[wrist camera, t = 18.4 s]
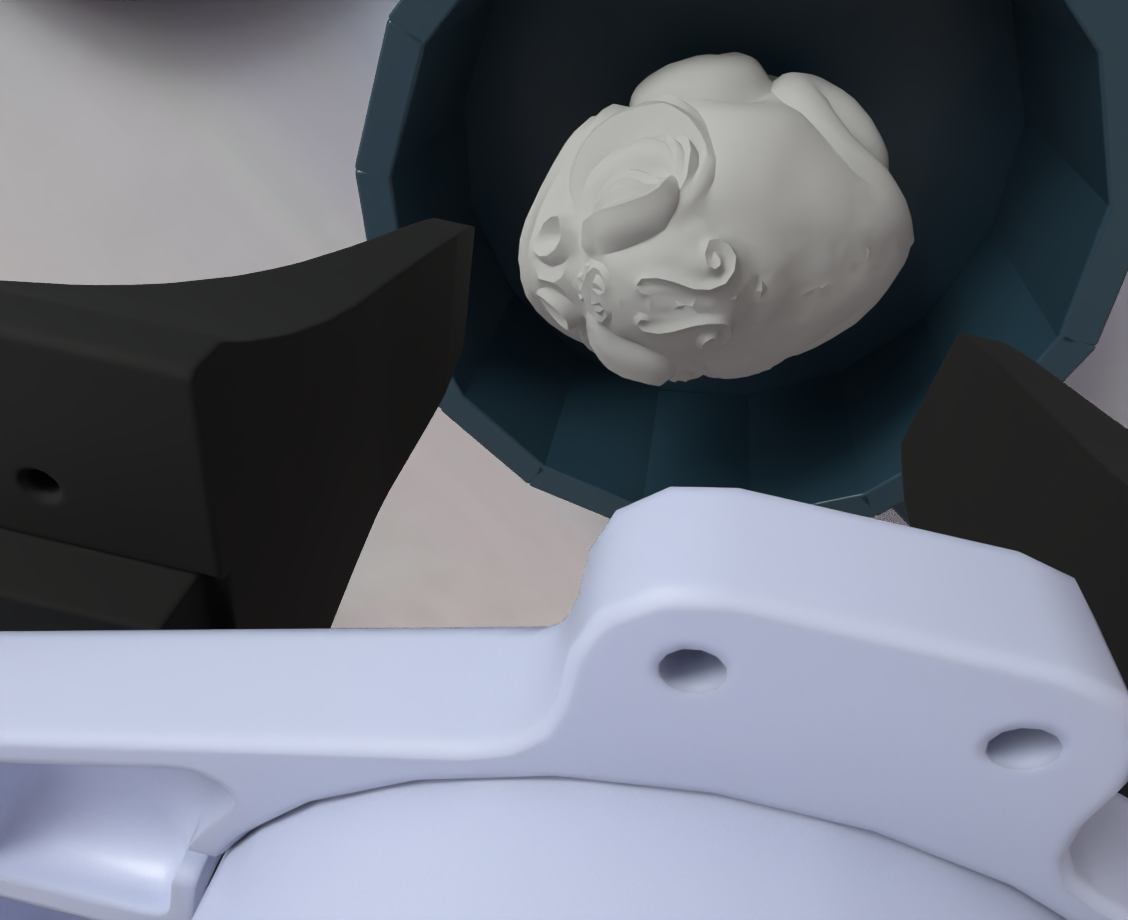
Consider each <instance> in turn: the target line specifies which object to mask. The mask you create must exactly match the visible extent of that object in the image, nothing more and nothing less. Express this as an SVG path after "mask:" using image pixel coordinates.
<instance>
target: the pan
mask: <svg viewBox="0 0 1128 920" xmlns="http://www.w3.org/2000/svg"><path fill="white" fill-rule="evenodd" d="M389 18H390V19H389V20H388V21H387V25H386V30H385V34H384V39H383V43H382V48H381V52H380V57H379V61H378V65H377V70H376V74H375V79H374V83H373V88H372V92H371V97H370V101H369V106H368V110H367V115H366V119H365V124H364V128H363V133H362V137H361V142H360V146H359V151H358V155H357V160H356V164H355V165H356V179H357V185H358V191H359V197H360V203H361V208H362V214H363V220H364V226H365V232H366V238H367V241H368V240H371V239H373V238H376V237H379V236H382V235H384V234H387V233H390V232H392V231H395V230H398V229H400V228H403V227H406V226H408V225H411V224H414V223H417V222H420V221H423V220H427V219H433V218H437V219H441V220H446V221H451V222H455V223H460V224H464V225H469V226H473V227H475V231H474V241H473V252H472V263H471V274H470V284H469V295H468V306H467V317H466V327H465V338H464V347H463V350H462V352H461V355H460V358H459V360H458V363H457V366H456V368H455V371H454V374H453V376H452V379H451V381H450V383H449V386H448V388H447V391H446V393H445V395H444V397H443V399H442V401H441V403H440V404H439V406H438V407H440V408H441V410H442V411H443V412H444V413H445V414H446V415H447V416H448V417H450V418H451V419H452V420H453V421H454V422H456V423H457V424H458V425H459V426H460V427H461V428H463V429H464V430H465V431H466V432H467V433H469V434H470V435H471V436H472V437H473V438H474V439H476V440H477V441H478V442H479V443H480V444H482V445H483V446H484V447H485V448H486V449H487V450H489V451H490V452H491V453H492V454H493V455H494V456H496V457H497V458H498V459H499V460H500V461H502V462H503V463H504V464H505V465H506V466H507V467H509V468H510V469H511V470H512V471H513V472H515V473H516V474H517V475H518V476H519V477H520V478H522V479H523V480H524V481H525V482H526V483H530V485H531V486H532V487H535V488H537V489H540V490H542V491H545V492H547V493H549V494H552V495H554V496H557V497H559V498H562V499H564V500H566V501H569V502H571V503H574V504H576V505H579V506H581V507H583V508H586V509H588V510H591V511H593V512H596V513H598V514H600V515H603V516H605V517H608V518H610V519H611V517H612V516H613V514H614V513H615V511H616V510H618V509H621V508H623V507H625V506H627V505H630V504H632V503H634V502H637V501H639V500H641V499H643V498H646V497H648V496H650V495H653V494H655V493H657V492H659V491H662V490H664V489H666V488H669V487H717V488H741V489H745V490H749V491H754V492H758V493H763V494H767V495H771V496H776V497H780V498H785V499H789V500H794V501H798V502H802V503H807V504H811V505H816V506H820V507H824V508H829V509H833V510H838V511H842V512H846V513H851V514H855V515H860V516H864V517H869V518H871V517H874V516H875V515H879V514H881V513H883V512H885V511H887V510H889V509H891V508H893V509H894V510H895V511H896V512H897V514H898V515H899V516H900V517H901V518H902V519H903V520H904V521H905V522H906V523H907V524H908V525H909V526H910V522H909V518H908V513H907V509H906V504H905V500H904V491H903V480H902V461H901V442H902V441H903V439H904V437H905V435H906V433H907V431H908V429H909V427H910V425H911V423H912V421H913V419H914V417H915V415H916V413H917V411H918V410H919V408H920V406H921V404H922V402H923V400H924V398H925V396H926V394H927V392H928V390H929V388H930V386H931V384H932V382H933V380H934V379H935V377H936V375H937V373H938V371H939V369H940V367H941V365H942V363H943V361H944V359H945V357H946V355H947V353H948V351H949V349H950V348H951V346H952V344H953V342H954V340H955V338H956V336H957V334H958V332H959V333H964V334H968V335H973V336H978V337H982V338H987V339H991V340H996V341H1000V342H1003V343H1005V344H1007V345H1009V346H1011V347H1013V348H1014V349H1016V350H1018V351H1019V352H1021V353H1023V354H1024V355H1026V356H1027V357H1029V358H1030V359H1032V360H1033V361H1035V362H1036V363H1037V364H1039V365H1040V366H1042V367H1043V368H1045V369H1046V370H1047V371H1049V372H1050V373H1051V374H1053V375H1054V376H1055V377H1057V378H1058V379H1059V380H1061V381H1062V382H1064V380H1065V379H1066V378H1067V377H1068V376H1069V375H1070V374H1071V373H1072V372H1073V371H1074V370H1075V369H1076V368H1077V367H1078V366H1079V365H1080V364H1081V363H1082V362H1083V361H1084V360H1085V358H1086V357H1087V356H1088V355H1089V354H1090V353H1091V352H1092V351H1093V350H1094V349H1095V345H1096V344H1097V343H1098V341H1099V338H1100V336H1101V334H1102V331H1103V329H1104V326H1105V324H1106V322H1107V319H1108V317H1109V314H1110V312H1111V310H1112V307H1113V305H1114V302H1115V300H1116V298H1117V295H1118V293H1119V291H1120V288H1121V286H1122V283H1123V281H1124V279H1125V276H1126V274H1127V271H1128V0H400V1H399V3H398V4H397V5H396V7H395V8H394V9H393V11H392V12H391V14H390V15H389ZM730 52H739V53H742V54H745V55H748V56H751V57H753V58H754V59H756V60H757V61H758V62H759V63H760V65H761V66H762V67H763V69H764V70H765V72H766V73H767V74H768V75H772V76H776V77H780V76H781V75H782V74H786V73H790V72H798V73H806V74H812V75H815V76H818V77H820V78H823V79H824V80H826V81H828V82H830V83H832V84H833V85H835V86H837V87H839V88H841V89H842V90H844V91H845V92H846V93H847V94H849V95H850V96H851V97H853V98H854V99H855V100H856V101H857V102H858V103H859V104H860V106H861V107H862V108H863V109H864V110H865V112H866V113H867V114H868V115H869V116H870V118H871V119H872V121H873V123H874V124H875V126H876V128H877V130H878V131H879V133H880V135H881V137H882V139H883V141H884V144H885V146H886V149H887V151H888V157H889V172H890V174H891V175H892V177H893V178H894V180H895V181H896V183H897V185H898V187H899V188H900V190H901V192H902V194H903V196H904V198H905V199H906V201H907V205H908V208H909V211H910V215H911V218H912V225H913V234H914V243H913V244H912V246H911V247H910V250H909V254H908V257H907V259H906V262H905V264H904V265H903V267H902V268H901V270H900V272H899V273H898V275H897V276H896V278H895V279H894V281H893V282H892V284H891V285H890V287H889V288H888V290H887V291H886V292H885V294H884V295H883V296H882V297H881V299H880V300H879V301H878V302H877V304H876V305H875V306H874V307H873V308H871V309H870V310H869V311H868V312H867V313H866V314H865V315H864V316H863V317H862V318H861V319H860V320H859V321H858V322H857V323H856V324H854V325H853V326H851V327H849V328H848V329H846V330H845V331H843V332H841V333H840V334H838V335H837V336H835V337H833V338H832V339H830V340H828V341H826V342H824V343H823V344H821V345H819V346H817V347H815V348H813V349H811V350H808V351H806V352H804V353H801V354H799V355H795V356H791V357H788V358H786V359H784V360H783V361H782V362H780V363H778V364H777V365H775V366H773V367H772V368H771V369H770V370H766V371H762V372H760V373H758V374H753V375H750V376H748V377H740V378H730V379H722V378H712V377H708V376H706V375H702V376H700V377H699V378H695V379H691V380H687V381H686V382H684V381H676V382H672V381H670V380H668V381H666V382H665V383H664V384H662V385H660V386H656V385H649V384H645V383H642V382H638V381H634V380H631V379H627V378H623V377H621V376H619V375H618V374H616V373H614V372H612V371H611V370H609V369H607V367H606V366H605V365H604V364H603V363H602V362H601V361H600V360H599V358H598V357H597V355H596V353H594V352H592V351H591V350H589V349H588V348H587V347H586V345H585V344H584V343H581V342H579V341H577V340H575V339H573V338H571V337H569V336H567V335H565V334H564V333H563V332H561V331H560V330H558V329H557V328H555V327H554V326H552V325H551V324H550V323H549V322H547V321H546V320H545V319H544V318H543V317H542V316H541V315H540V314H539V313H538V312H537V311H536V310H535V308H534V307H533V305H532V304H531V303H530V301H529V300H528V298H527V297H526V295H525V292H524V288H523V285H522V282H521V279H520V267H519V261H518V256H519V243H520V237H521V234H522V230H523V227H524V223H525V220H526V218H527V216H528V213H529V211H530V209H531V207H532V205H533V203H534V200H535V198H536V196H537V194H538V192H539V190H540V188H541V186H542V184H543V182H544V180H545V178H546V176H547V174H548V172H549V170H550V168H551V167H552V165H553V163H554V161H555V160H556V158H557V156H558V155H559V153H560V151H561V150H562V148H563V146H564V145H565V143H566V142H567V140H568V139H569V138H570V136H571V135H572V134H573V133H574V131H575V130H577V129H578V128H579V127H580V126H581V125H582V124H583V123H584V122H585V121H587V120H588V119H589V118H590V117H591V116H597V115H598V114H599V113H600V111H601V110H603V109H604V108H606V107H608V106H610V105H612V104H617V105H622V106H627V107H630V106H629V103H630V100H631V96H632V94H633V92H634V91H635V89H636V87H637V86H638V85H639V84H640V83H641V82H642V81H643V80H644V79H645V78H646V77H648V76H649V75H651V74H652V73H654V72H656V71H657V70H659V69H661V68H663V67H664V66H666V65H668V64H671V63H674V62H677V61H681V60H684V59H687V58H690V57H694V56H698V55H707V54H712V55H720V54H724V53H730ZM910 527H911V526H910Z"/></svg>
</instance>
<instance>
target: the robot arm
mask: <svg viewBox="0 0 1128 920" xmlns="http://www.w3.org/2000/svg"><path fill="white" fill-rule="evenodd" d="M474 231H475V227H473V226H469V225H464V224H460V223H455V222H451V221H446V220H441V219H437V218H433V219H427V220H423V221H420V222H417V223H414V224H411V225H408V226H406V227H403V228H400V229H398V230H395V231H392V232H390V233H387V234H384V235H382V236H379V237H376V238H373V239H371V240H368V241H365V242H363V243H360V244H357V245H354V246H352V247H348V248H345V249H342V250H339V251H336V252H333V253H329V254H326V255H323V256H320V257H317V258H313V259H310V260H307V261H304V262H300V263H296V264H292V265H288V266H284V267H280V268H276V269H271V270H265V271H260V272H255V273H250V274H245V275H239V276H232V277H224V278H214V279H205V280H196V281H187V282H178V283H165V284H143V285H68V284H51V283H33V282H16V281H0V920H1128V429H1126V428H1125V427H1123V426H1122V425H1121V424H1119V423H1118V422H1116V421H1115V420H1114V419H1112V418H1111V417H1109V416H1108V415H1107V414H1105V413H1104V412H1103V411H1101V410H1100V409H1098V408H1097V407H1096V406H1094V405H1093V404H1092V403H1090V402H1089V401H1088V400H1086V399H1085V398H1084V397H1082V396H1081V395H1080V394H1078V393H1077V392H1076V391H1074V390H1073V389H1072V388H1070V387H1069V386H1068V385H1066V384H1065V383H1063V382H1062V381H1061V380H1059V379H1058V378H1057V377H1055V376H1054V375H1053V374H1051V373H1050V372H1049V371H1047V370H1046V369H1045V368H1043V367H1042V366H1040V365H1039V364H1037V363H1036V362H1035V361H1033V360H1032V359H1030V358H1029V357H1027V356H1026V355H1024V354H1023V353H1021V352H1019V351H1018V350H1016V349H1014V348H1013V347H1011V346H1009V345H1007V344H1005V343H1003V342H1000V341H996V340H991V339H987V338H982V337H978V336H973V335H968V334H964V333H959V332H958V334H957V336H956V338H955V340H954V342H953V344H952V346H951V348H950V349H949V351H948V353H947V355H946V357H945V359H944V361H943V363H942V365H941V367H940V369H939V371H938V373H937V375H936V377H935V379H934V380H933V382H932V384H931V386H930V388H929V390H928V392H927V394H926V396H925V398H924V400H923V402H922V404H921V406H920V408H919V410H918V411H917V413H916V415H915V417H914V419H913V421H912V423H911V425H910V427H909V429H908V431H907V433H906V435H905V437H904V439H903V441H902V442H901V461H902V480H903V491H904V500H905V504H906V509H907V513H908V518H909V522H910V526H911V527H908V526H904V525H899V524H895V523H891V522H886V521H882V520H877V519H873V518H869V517H864V516H860V515H855V514H851V513H846V512H842V511H838V510H833V509H829V508H824V507H820V506H816V505H811V504H807V503H802V502H798V501H794V500H789V499H785V498H780V497H776V496H771V495H767V494H763V493H758V492H754V491H749V490H745V489H741V488H717V487H669V488H666V489H664V490H662V491H659V492H657V493H655V494H653V495H650V496H648V497H646V498H643V499H641V500H639V501H637V502H634V503H632V504H630V505H627V506H625V507H623V508H621V509H618V510H616V511H615V513H614V514H613V516H612V517H611V519H610V520H609V522H608V523H607V525H606V526H605V528H604V529H603V531H602V532H601V534H600V535H599V537H598V538H597V540H596V541H595V542H594V544H593V545H592V547H591V548H590V550H589V554H588V558H587V562H586V566H585V570H584V574H583V578H582V582H581V586H580V590H579V595H578V597H577V599H576V601H575V604H574V606H573V608H572V610H571V612H570V614H569V615H568V616H567V617H566V618H565V619H564V620H563V621H562V622H561V623H558V624H555V625H553V626H550V627H444V628H331V625H332V623H333V620H334V617H335V615H336V612H337V610H338V607H339V605H340V602H341V600H342V597H343V595H344V592H345V590H346V588H347V585H348V583H349V580H350V578H351V575H352V573H353V570H354V568H355V565H356V563H357V560H358V558H359V556H360V553H361V551H362V549H363V546H364V544H365V542H366V539H367V537H368V535H369V532H370V530H371V528H372V525H373V523H374V520H375V518H376V516H377V514H378V512H379V510H380V508H381V506H382V504H383V502H384V500H385V498H386V496H387V494H388V492H389V490H390V489H391V487H392V485H393V483H394V482H395V480H396V478H397V477H398V475H399V473H400V472H401V470H402V468H403V466H404V465H405V463H406V461H407V460H408V458H409V456H410V454H411V453H412V451H413V449H414V448H415V446H416V444H417V442H418V441H419V439H420V437H421V436H422V434H423V432H424V431H425V429H426V427H427V425H428V424H429V422H430V420H431V418H432V417H433V415H434V413H435V411H436V410H437V408H438V406H439V404H440V403H441V401H442V399H443V397H444V395H445V393H446V391H447V388H448V386H449V383H450V381H451V379H452V376H453V374H454V371H455V368H456V366H457V363H458V360H459V358H460V355H461V352H462V350H463V347H464V338H465V327H466V317H467V306H468V295H469V284H470V274H471V263H472V252H473V241H474Z"/></svg>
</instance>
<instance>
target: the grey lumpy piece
mask: <svg viewBox="0 0 1128 920" xmlns="http://www.w3.org/2000/svg"><path fill="white" fill-rule="evenodd" d="M629 106H630V107H627V106H622V105H617V104H612V105H610V106H608V107H606V108H604V109H603V110H601V111H600V113H599V114H598V115H597V116H591V117H590V118H589V119H588V120H587V121H585V122H584V123H583V124H582V125H581V126H580V127H579V128H578V129H577V130H575V131H574V133H573V134H572V135H571V136H570V138H569V139H568V140H567V142H566V143H565V145H564V146H563V148H562V150H561V151H560V153H559V155H558V156H557V158H556V160H555V161H554V163H553V165H552V167H551V168H550V170H549V172H548V174H547V176H546V178H545V180H544V182H543V184H542V186H541V188H540V190H539V192H538V194H537V196H536V198H535V200H534V203H533V205H532V207H531V209H530V211H529V213H528V216H527V218H526V220H525V223H524V227H523V230H522V234H521V237H520V243H519V256H518V261H519V267H520V279H521V282H522V285H523V288H524V292H525V295H526V297H527V298H528V300H529V301H530V303H531V304H532V305H533V307H534V308H535V310H536V311H537V312H538V313H539V314H540V315H541V316H542V317H543V318H544V319H545V320H546V321H547V322H549V323H550V324H551V325H552V326H554V327H555V328H557V329H558V330H560V331H561V332H563V333H564V334H565V335H567V336H569V337H571V338H573V339H575V340H577V341H579V342H581V343H584V344H585V345H586V347H587V348H588V349H589V350H591V351H592V352H594V353H596V355H597V357H598V358H599V360H600V361H601V362H602V363H603V364H604V365H605V366H606V367H607V369H609V370H611V371H612V372H614V373H616V374H618V375H619V376H621V377H623V378H627V379H631V380H634V381H638V382H642V383H645V384H649V385H656V386H660V385H662V384H664V383H665V382H666V381H668V380H670V381H672V382H676V381H684V382H686V381H687V380H691V379H695V378H699V377H700V376H702V375H706V376H708V377H712V378H722V379H730V378H740V377H748V376H750V375H753V374H758V373H760V372H762V371H766V370H770V369H771V368H772V367H773V366H775V365H777V364H778V363H780V362H782V361H783V360H784V359H786V358H788V357H791V356H795V355H799V354H801V353H804V352H806V351H808V350H811V349H813V348H815V347H817V346H819V345H821V344H823V343H824V342H826V341H828V340H830V339H832V338H833V337H835V336H837V335H838V334H840V333H841V332H843V331H845V330H846V329H848V328H849V327H851V326H853V325H854V324H856V323H857V322H858V321H859V320H860V319H861V318H862V317H863V316H864V315H865V314H866V313H867V312H868V311H869V310H870V309H871V308H873V307H874V306H875V305H876V304H877V302H878V301H879V300H880V299H881V297H882V296H883V295H884V294H885V292H886V291H887V290H888V288H889V287H890V285H891V284H892V282H893V281H894V279H895V278H896V276H897V275H898V273H899V272H900V270H901V268H902V267H903V265H904V264H905V262H906V259H907V257H908V254H909V250H910V247H911V246H912V244H913V243H914V234H913V225H912V218H911V215H910V211H909V208H908V205H907V201H906V199H905V198H904V196H903V194H902V192H901V190H900V188H899V187H898V185H897V183H896V181H895V180H894V178H893V177H892V175H891V174H890V172H889V157H888V151H887V149H886V146H885V144H884V141H883V139H882V137H881V135H880V133H879V131H878V130H877V128H876V126H875V124H874V123H873V121H872V119H871V118H870V116H869V115H868V114H867V113H866V112H865V110H864V109H863V108H862V107H861V106H860V104H859V103H858V102H857V101H856V100H855V99H854V98H853V97H851V96H850V95H849V94H847V93H846V92H845V91H844V90H842V89H841V88H839V87H837V86H835V85H833V84H832V83H830V82H828V81H826V80H824V79H823V78H820V77H818V76H815V75H812V74H806V73H798V72H790V73H786V74H782V75H781V76H780V77H776V76H772V75H768V74H767V73H766V72H765V70H764V69H763V67H762V66H761V65H760V63H759V62H758V61H757V60H756V59H754V58H753V57H751V56H748V55H745V54H742V53H739V52H730V53H724V54H720V55H712V54H707V55H698V56H694V57H690V58H687V59H684V60H681V61H677V62H674V63H671V64H668V65H666V66H664V67H663V68H661V69H659V70H657V71H656V72H654V73H652V74H651V75H649V76H648V77H646V78H645V79H644V80H643V81H642V82H641V83H640V84H639V85H638V86H637V87H636V89H635V91H634V92H633V94H632V96H631V100H630V103H629Z"/></svg>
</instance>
